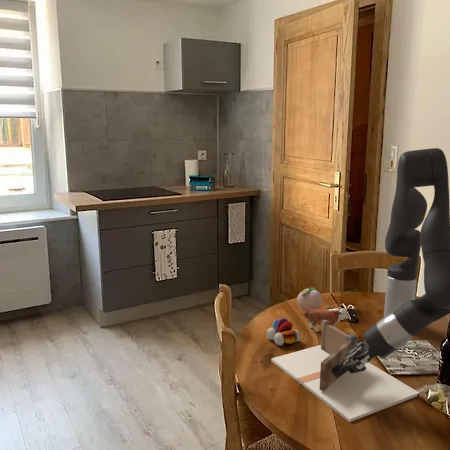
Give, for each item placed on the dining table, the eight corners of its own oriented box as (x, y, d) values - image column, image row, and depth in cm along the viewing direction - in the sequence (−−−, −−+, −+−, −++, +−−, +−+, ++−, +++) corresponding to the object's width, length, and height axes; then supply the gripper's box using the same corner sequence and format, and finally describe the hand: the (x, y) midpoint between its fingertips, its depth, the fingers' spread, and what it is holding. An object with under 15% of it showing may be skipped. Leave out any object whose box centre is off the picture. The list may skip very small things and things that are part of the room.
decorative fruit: (315, 320, 164) (316, 292, 162) (293, 315, 168) (294, 288, 166) (325, 311, 172) (326, 285, 170) (303, 306, 176) (305, 280, 174)
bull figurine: (347, 335, 153) (349, 311, 151) (305, 331, 155) (306, 308, 154) (347, 329, 157) (348, 306, 155) (306, 325, 160) (307, 303, 158)
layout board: (333, 343, 147) (335, 315, 145) (418, 395, 119) (422, 360, 117) (271, 361, 136) (272, 330, 134) (349, 422, 109) (352, 384, 107)
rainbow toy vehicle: (280, 350, 143) (281, 327, 141) (263, 337, 151) (263, 316, 150) (303, 344, 147) (304, 322, 145) (285, 332, 155) (286, 311, 154)
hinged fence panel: (346, 364, 132) (348, 339, 130) (350, 366, 131) (352, 341, 129) (319, 389, 119) (320, 362, 118) (323, 391, 119) (325, 363, 117)
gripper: (376, 312, 121) (326, 351, 127) (378, 334, 109) (321, 376, 114) (397, 334, 121) (345, 372, 127) (401, 359, 108) (343, 399, 114)
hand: (334, 374), depth 120 cm, fingers closed
